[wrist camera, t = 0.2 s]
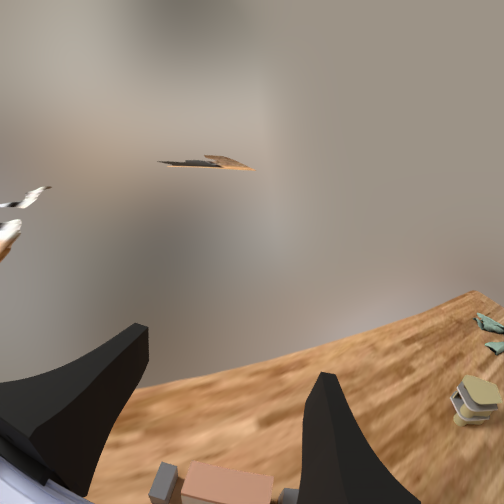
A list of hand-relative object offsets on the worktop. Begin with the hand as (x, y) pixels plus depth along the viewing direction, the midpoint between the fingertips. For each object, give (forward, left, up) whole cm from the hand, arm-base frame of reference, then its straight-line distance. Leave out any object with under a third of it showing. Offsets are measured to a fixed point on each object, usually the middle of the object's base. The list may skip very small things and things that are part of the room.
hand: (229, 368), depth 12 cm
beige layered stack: (+17, -33, -22) cm, 43 cm away
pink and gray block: (+2, -1, -21) cm, 22 cm away
